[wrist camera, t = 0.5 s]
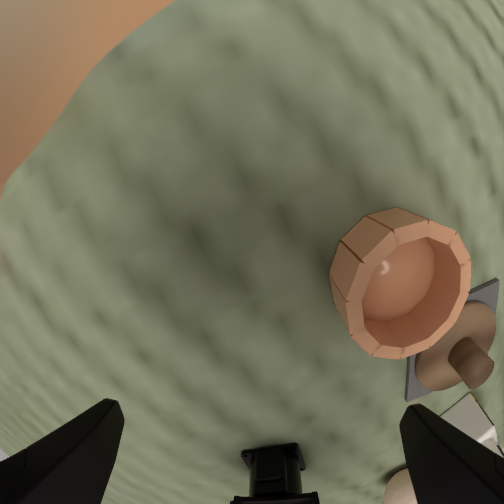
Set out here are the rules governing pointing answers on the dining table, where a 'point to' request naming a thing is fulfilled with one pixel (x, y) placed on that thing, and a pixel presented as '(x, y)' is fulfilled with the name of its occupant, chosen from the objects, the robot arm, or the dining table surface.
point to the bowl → (399, 282)
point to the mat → (413, 386)
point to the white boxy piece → (473, 422)
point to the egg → (400, 489)
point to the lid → (460, 351)
